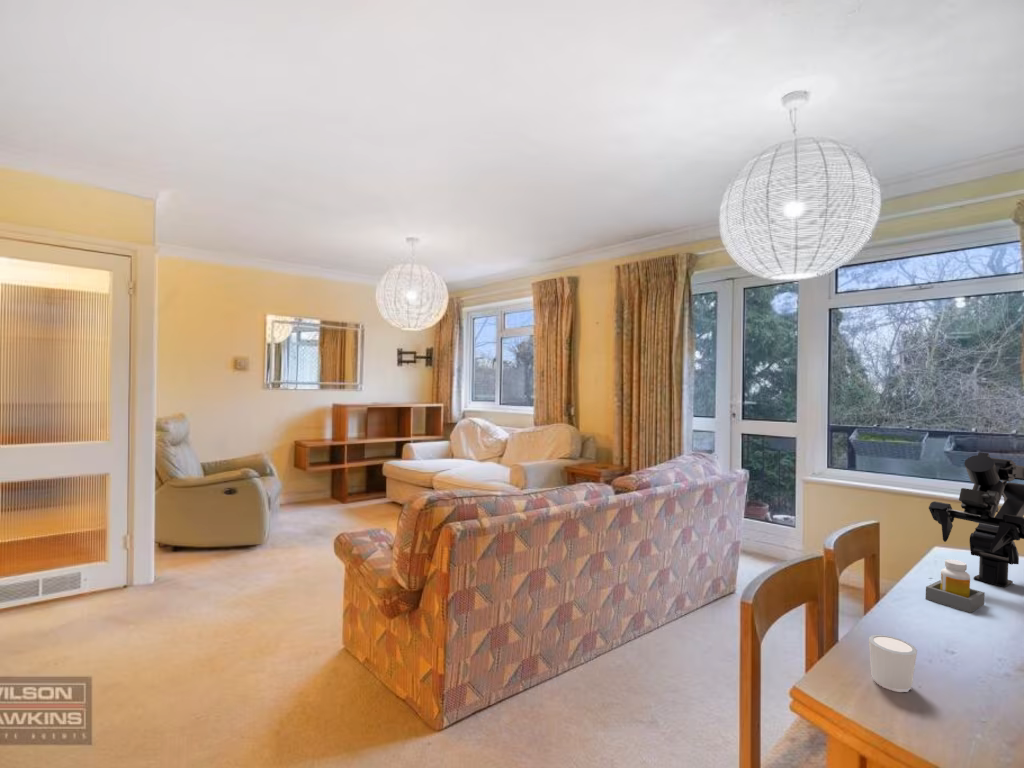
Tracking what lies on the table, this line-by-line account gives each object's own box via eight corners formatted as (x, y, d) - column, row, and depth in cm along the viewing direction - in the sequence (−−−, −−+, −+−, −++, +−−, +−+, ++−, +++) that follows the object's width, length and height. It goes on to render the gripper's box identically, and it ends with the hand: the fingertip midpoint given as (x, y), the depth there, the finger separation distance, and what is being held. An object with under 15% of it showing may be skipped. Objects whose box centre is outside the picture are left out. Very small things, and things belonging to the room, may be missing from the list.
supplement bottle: (975, 607, 123) (977, 566, 123) (952, 606, 123) (953, 565, 123) (956, 597, 129) (957, 558, 128) (934, 596, 129) (935, 557, 129)
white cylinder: (918, 700, 86) (919, 658, 86) (868, 686, 90) (869, 646, 90) (913, 680, 92) (914, 641, 92) (866, 668, 96) (867, 630, 96)
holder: (939, 591, 132) (940, 580, 132) (984, 604, 125) (984, 592, 125) (925, 598, 127) (925, 586, 127) (970, 612, 120) (970, 600, 120)
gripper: (932, 470, 140) (913, 516, 134) (1028, 484, 124) (1010, 536, 118) (943, 497, 144) (925, 542, 138) (1037, 513, 128) (1020, 565, 123)
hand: (967, 546), depth 129 cm, fingers open, 9 cm apart
